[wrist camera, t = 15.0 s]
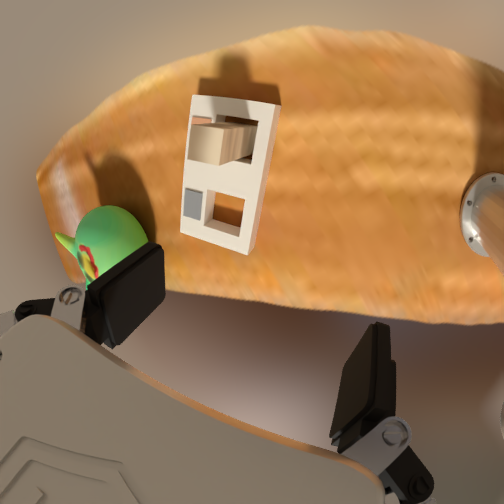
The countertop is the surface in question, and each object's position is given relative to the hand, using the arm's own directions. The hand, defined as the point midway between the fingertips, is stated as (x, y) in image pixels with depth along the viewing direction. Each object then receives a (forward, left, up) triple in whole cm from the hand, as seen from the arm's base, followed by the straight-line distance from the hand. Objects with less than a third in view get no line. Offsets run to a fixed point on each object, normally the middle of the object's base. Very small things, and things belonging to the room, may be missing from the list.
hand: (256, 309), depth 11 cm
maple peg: (+13, -2, -28) cm, 31 cm away
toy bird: (+34, +21, -28) cm, 49 cm away
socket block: (+14, +3, -28) cm, 32 cm away
